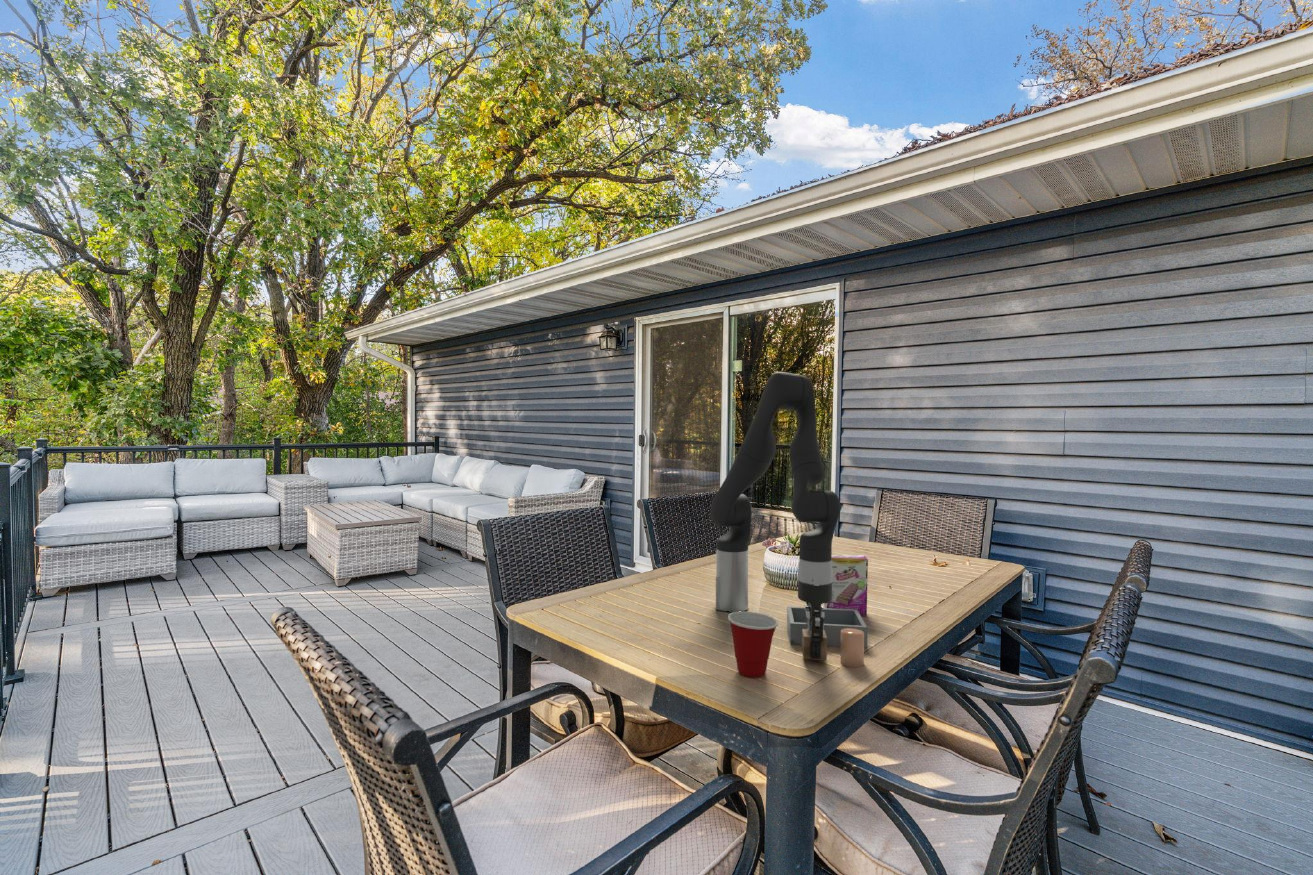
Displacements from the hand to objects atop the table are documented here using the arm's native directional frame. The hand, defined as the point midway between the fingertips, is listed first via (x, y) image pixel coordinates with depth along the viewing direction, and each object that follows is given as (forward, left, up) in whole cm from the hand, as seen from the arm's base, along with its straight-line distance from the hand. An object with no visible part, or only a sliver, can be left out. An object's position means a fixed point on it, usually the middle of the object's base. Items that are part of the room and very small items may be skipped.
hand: (814, 652), depth 137 cm
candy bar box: (+12, +37, -2) cm, 39 cm away
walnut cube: (0, 0, -1) cm, 1 cm away
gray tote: (+4, +17, -2) cm, 17 cm away
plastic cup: (-14, -9, -2) cm, 17 cm away
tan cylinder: (+8, 0, -2) cm, 8 cm away
